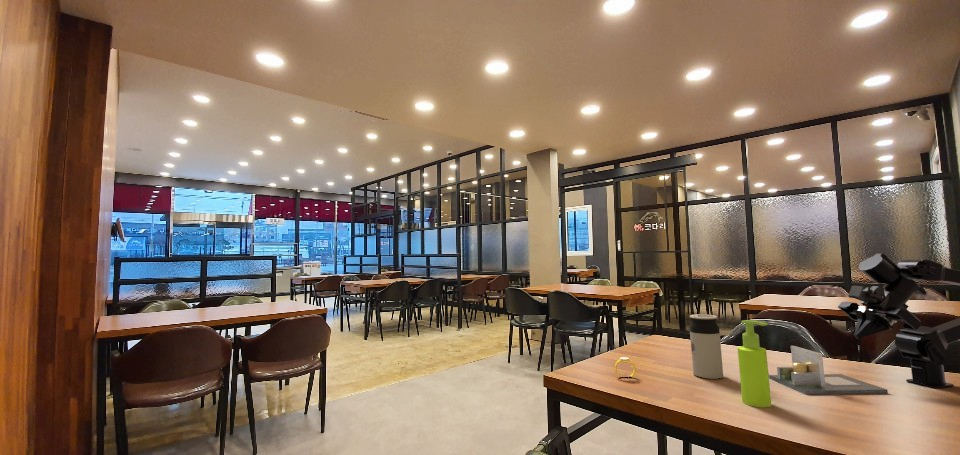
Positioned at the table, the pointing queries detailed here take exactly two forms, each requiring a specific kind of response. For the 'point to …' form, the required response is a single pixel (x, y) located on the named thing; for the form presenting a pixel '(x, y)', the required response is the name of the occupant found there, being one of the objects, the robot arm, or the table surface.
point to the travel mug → (706, 346)
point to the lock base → (830, 384)
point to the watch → (625, 361)
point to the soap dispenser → (753, 368)
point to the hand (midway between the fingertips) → (856, 337)
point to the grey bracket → (813, 368)
